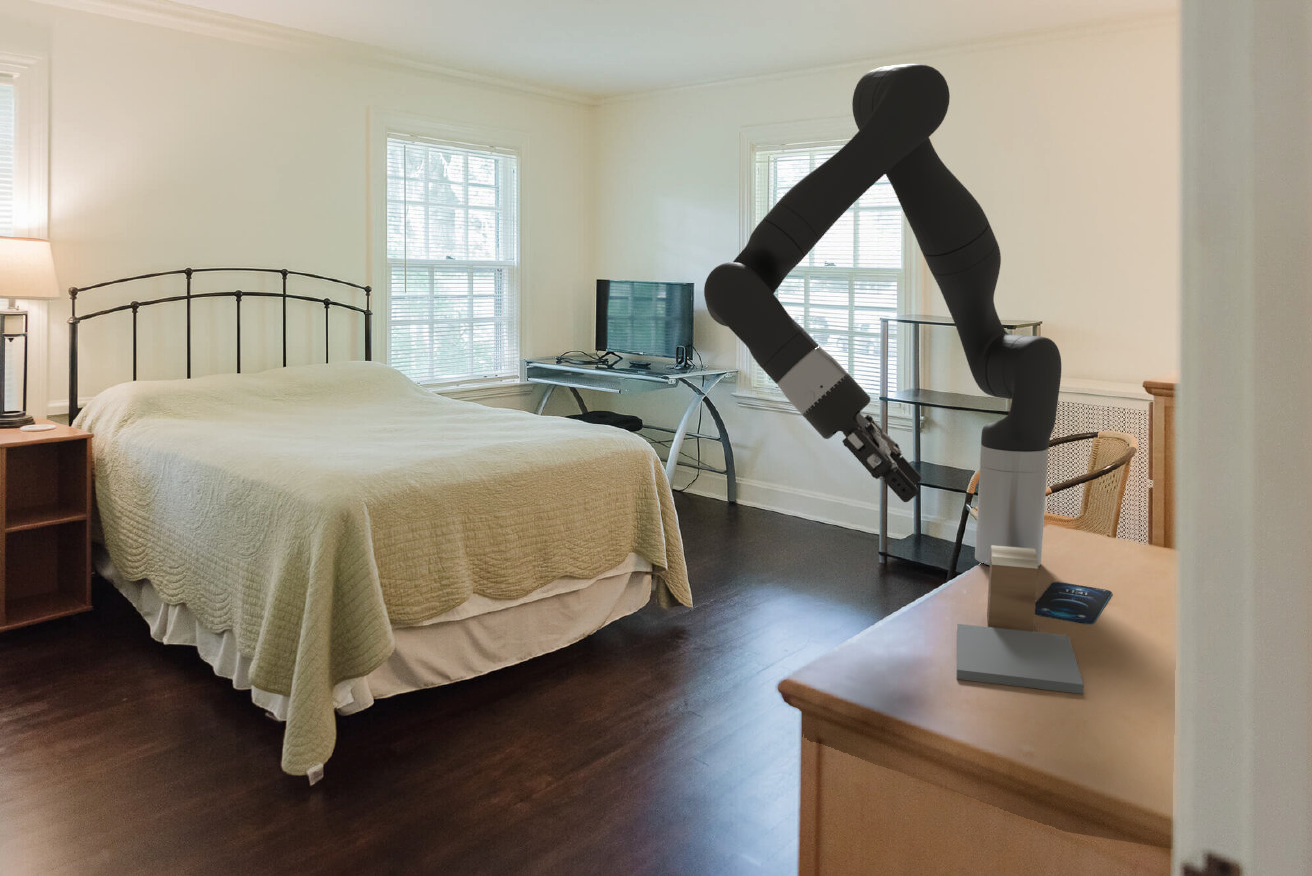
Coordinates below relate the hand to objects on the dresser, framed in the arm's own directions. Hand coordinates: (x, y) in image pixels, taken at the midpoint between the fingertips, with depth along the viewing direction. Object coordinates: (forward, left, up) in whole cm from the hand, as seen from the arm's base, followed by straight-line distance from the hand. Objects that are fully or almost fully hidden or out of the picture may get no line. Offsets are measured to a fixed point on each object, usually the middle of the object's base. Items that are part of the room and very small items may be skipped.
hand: (914, 490), depth 113 cm
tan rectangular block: (0, +12, -16) cm, 20 cm away
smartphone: (-11, +20, -16) cm, 28 cm away
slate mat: (+11, +12, -16) cm, 23 cm away
